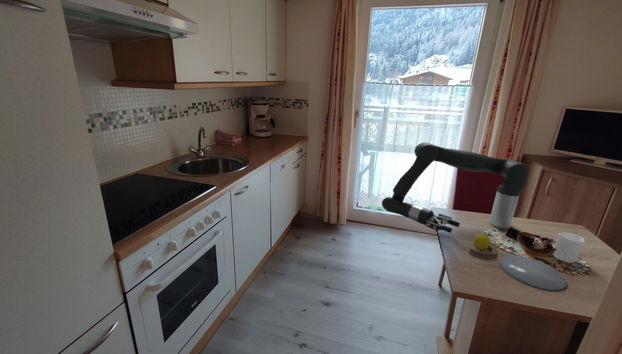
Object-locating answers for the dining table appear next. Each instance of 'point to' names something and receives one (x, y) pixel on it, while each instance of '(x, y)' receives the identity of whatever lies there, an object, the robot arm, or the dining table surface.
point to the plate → (533, 272)
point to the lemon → (481, 242)
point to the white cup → (568, 247)
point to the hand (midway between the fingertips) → (455, 227)
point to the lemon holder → (485, 254)
